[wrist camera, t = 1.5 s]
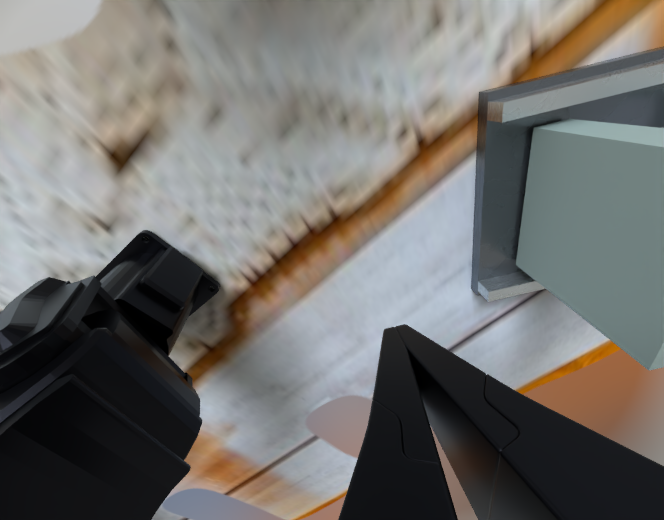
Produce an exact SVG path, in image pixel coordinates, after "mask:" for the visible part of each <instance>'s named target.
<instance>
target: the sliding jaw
mask: <svg viewBox="0 0 664 520" xmlns="http://www.w3.org/2000/svg"><path fill="white" fill-rule="evenodd" d="M516 265H517V266H518V267H519V268H520V269H522V270H523V271H524V272H525V273H527V274H528V275H529V276H530V277H532V278H533V279H534V280H536V281H537V282H538V283H539V284H541V285H542V286H543V287H544V288H546V289H547V290H548V291H549V292H551V293H552V294H553V295H554V296H556V297H557V298H558V299H559V300H561V301H562V302H563V303H564V304H566V305H567V306H568V307H570V308H571V309H572V310H573V311H575V312H576V313H577V314H578V315H580V316H581V317H582V318H583V319H585V320H586V321H587V322H588V323H590V324H591V325H592V326H593V327H595V328H596V329H597V330H598V331H600V332H601V333H602V334H604V335H605V336H606V337H607V338H609V339H610V340H611V341H612V342H614V343H615V344H616V345H617V346H619V347H620V348H621V349H622V350H624V351H625V352H626V353H628V354H629V355H630V356H631V357H633V358H634V359H635V360H636V361H638V362H639V363H640V364H641V365H643V366H644V367H645V368H646V369H648V370H653V369H658V368H662V367H664V128H657V127H647V126H637V125H627V124H616V123H606V122H596V121H586V120H576V119H567V120H563V121H559V122H555V123H551V124H547V125H542V126H538V127H534V128H533V136H532V143H531V151H530V159H529V166H528V174H527V182H526V189H525V197H524V205H523V212H522V220H521V228H520V235H519V243H518V251H517V258H516Z"/></svg>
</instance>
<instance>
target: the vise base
mask: <svg viewBox="0 0 664 520" xmlns="http://www.w3.org/2000/svg"><path fill="white" fill-rule="evenodd" d="M567 119H576V120H586V121H596V122H606V123H616V124H627V125H637V126H647V127H657V128H661V127H664V47H660V48H656V49H652V50H648V51H643V52H639V53H635V54H631V55H627V56H623V57H619V58H615V59H611V60H607V61H603V62H599V63H595V64H591V65H587V66H583V67H579V68H575V69H571V70H567V71H563V72H559V73H555V74H550V75H546V76H542V77H538V78H534V79H530V80H526V81H522V82H518V83H514V84H510V85H506V86H502V87H498V88H494V89H490V90H486V91H482V92H479V110H478V135H477V160H476V185H475V210H474V235H473V260H472V285H471V289H472V290H473V291H474V292H475V293H476V294H477V295H482V296H483V297H484V298H485V299H486V300H487V302H490V301H495V300H499V299H503V298H508V297H512V296H516V295H521V294H525V293H529V292H533V291H538V290H542V289H546V288H544V287H543V286H542V285H541V284H539V283H538V282H537V281H536V280H534V279H533V278H532V277H530V276H529V275H528V274H527V273H525V272H524V271H523V270H522V269H520V268H519V267H518V266H517V265H516V258H517V251H518V243H519V235H520V228H521V220H522V212H523V205H524V197H525V189H526V182H527V174H528V166H529V159H530V151H531V143H532V136H533V128H534V127H538V126H542V125H547V124H551V123H555V122H559V121H563V120H567Z"/></svg>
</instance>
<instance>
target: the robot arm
mask: <svg viewBox="0 0 664 520" xmlns="http://www.w3.org/2000/svg"><path fill="white" fill-rule="evenodd" d="M144 236H146V237H148V238H149V240H146V239H145V238H144ZM210 286H213V287H215V289H213V288H211V287H210ZM219 289H220V284H219V283H218V282H217V281H216V280H214V279H213V278H212V277H210V276H209V275H208V274H206V273H205V272H204V271H202V269H201V268H200V267H198V266H197V265H196V264H194V263H193V262H192V261H190V260H189V259H188V258H186V257H185V256H184V255H182V254H181V253H180V252H179V251H177V250H176V249H175V248H172V247H171V246H169V245H168V244H167V243H165V242H164V241H163V240H161V239H160V238H159V237H158V236H156V235H155V234H154V233H152V232H150V231H148V230H144V231H142V232H140V233H139V234H138V235H137V236H136V237H135V238H134V239H133V240H132V241H131V242H130V243H129V244H128V245H127V246H126V247H125V248H124V249H123V250H122V251H121V252H120V253H119V254H118V255H117V256H116V257H115V258H114V259H113V260H112V261H111V262H110V263H109V264H108V265H107V266H106V267H105V268H104V269H103V270H102V271H101V272H100V273H99V274H98V275H97V276H96V277H95V276H91V277H89V278H86V279H83V280H81V281H78V282H74V283H70V282H69V281H67V282H65V281H62V280H58V279H54V278H50V277H48V278H46V279H43V280H41V281H38V282H37V283H35V284H34V285H33V286H31V287H30V288H29V289H27V290H26V291H24V292H23V293H22V294H20V295H19V296H18V297H16V298H15V299H14V300H13V301H12V302H10V303H9V304H8V305H7V306H6V307H5V309H4V310H3V311H1V312H0V520H151V519H152V517H153V516H154V514H155V512H156V511H157V509H158V508H159V507H160V505H161V504H162V503H163V501H164V500H165V498H166V497H167V496H168V494H169V493H170V492H171V490H172V489H173V488H174V487H175V486H176V485H177V484H178V483H179V482H180V481H181V480H182V479H183V478H184V477H185V476H186V475H187V473H188V472H189V471H190V468H191V467H190V465H189V464H187V463H186V462H185V461H184V460H185V458H186V457H187V455H188V453H189V451H190V449H191V447H192V446H193V444H194V442H195V440H196V438H197V436H198V433H199V430H200V427H201V424H202V419H201V418H200V417H199V415H200V398H199V396H198V394H197V393H196V391H195V389H194V388H193V387H192V378H191V377H190V376H189V374H188V373H184V372H183V371H182V370H181V369H180V368H179V367H178V366H177V365H176V364H175V363H174V362H173V360H172V359H171V358H170V357H169V354H170V352H171V350H172V348H173V346H174V344H175V342H176V340H177V338H178V336H179V334H180V332H181V330H182V328H183V326H184V324H185V322H186V320H187V318H188V317H189V316H190V315H191V314H192V313H193V312H195V311H196V310H197V309H198V308H199V307H201V306H202V305H203V304H204V303H205V302H207V301H208V300H209V299H210V298H212V297H213V296H214V295H215V294H216V293H217V292H218V291H219ZM429 423H430V424H429ZM430 425H431V427H432V429H433V431H434V432H435V434H436V437H437V439H438V441H439V443H440V444H441V447H442V449H443V450H444V452H445V454H446V456H447V458H448V460H449V462H450V464H451V466H452V468H453V470H454V472H455V474H456V476H457V478H458V480H459V482H460V484H461V486H462V488H463V490H464V492H465V494H466V496H467V498H468V500H469V502H470V504H471V506H472V508H473V510H474V512H475V514H476V516H477V518H478V520H664V466H662V465H660V464H658V463H656V462H654V461H652V460H650V459H648V458H646V457H644V456H642V455H640V454H638V453H636V452H634V451H632V450H630V449H628V448H626V447H624V446H622V445H620V444H618V443H617V442H615V441H612V440H610V439H609V438H607V437H604V436H603V435H601V434H599V433H596V432H595V431H592V430H591V429H589V428H587V427H585V426H583V425H581V424H579V423H577V422H575V421H573V420H571V419H569V418H567V417H565V416H563V415H561V414H559V413H557V412H555V411H553V410H551V409H549V408H547V407H545V406H543V405H541V404H539V403H537V402H535V401H533V400H532V399H530V398H528V397H525V396H524V395H522V394H520V393H518V392H516V391H515V390H513V389H511V388H510V387H508V386H506V385H504V384H503V383H501V382H499V381H498V380H496V379H494V378H493V377H491V376H490V375H486V374H485V373H484V372H482V371H481V370H479V369H477V368H476V367H474V366H473V365H471V364H469V363H468V362H466V361H465V360H463V359H461V358H460V357H458V356H456V355H455V354H453V353H452V352H450V351H448V350H447V349H445V348H443V347H442V346H440V345H439V344H437V343H435V342H434V341H432V340H430V339H429V338H427V337H426V336H424V335H422V334H421V333H419V332H417V331H416V330H414V329H413V328H411V327H409V326H408V325H405V324H404V325H400V326H396V327H391V328H387V329H384V332H383V338H382V344H381V351H380V357H379V363H378V369H377V376H376V382H375V388H374V395H373V401H372V406H371V412H370V416H369V421H368V426H367V430H366V433H365V437H364V441H363V444H362V447H361V450H360V453H359V457H358V460H357V463H356V466H355V469H354V472H353V475H352V478H351V482H350V485H349V488H348V491H347V494H346V497H345V500H344V504H343V507H342V510H341V513H340V516H339V519H338V520H458V519H457V515H456V512H455V508H454V505H453V502H452V498H451V495H450V492H449V488H448V485H447V482H446V478H445V474H444V471H443V468H442V465H441V461H440V458H439V454H438V451H437V448H436V444H435V441H434V437H433V434H432V430H431V427H430Z"/></svg>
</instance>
